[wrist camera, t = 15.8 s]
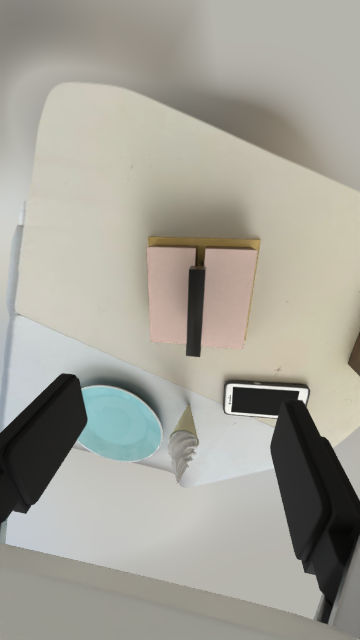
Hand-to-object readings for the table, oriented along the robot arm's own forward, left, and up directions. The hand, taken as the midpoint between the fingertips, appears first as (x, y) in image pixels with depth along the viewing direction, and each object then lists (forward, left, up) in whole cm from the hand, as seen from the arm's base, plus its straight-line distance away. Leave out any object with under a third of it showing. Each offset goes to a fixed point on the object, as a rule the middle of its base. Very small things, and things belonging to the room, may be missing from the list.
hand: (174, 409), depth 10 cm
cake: (+2, 0, -26) cm, 26 cm away
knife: (+2, 0, -26) cm, 26 cm away
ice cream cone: (+26, -1, -27) cm, 37 cm away
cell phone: (+22, +13, -26) cm, 37 cm away
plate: (+32, -17, -27) cm, 45 cm away
